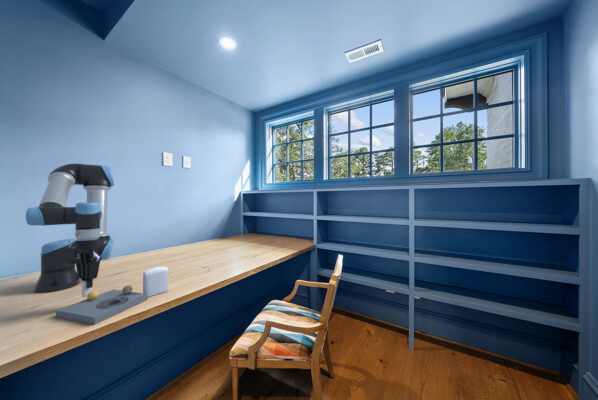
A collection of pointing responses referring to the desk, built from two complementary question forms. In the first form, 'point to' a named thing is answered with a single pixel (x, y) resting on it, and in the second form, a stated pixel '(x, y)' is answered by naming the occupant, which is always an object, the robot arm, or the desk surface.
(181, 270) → the desk surface
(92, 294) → the ball
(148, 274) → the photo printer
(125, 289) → the cork ball
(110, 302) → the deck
